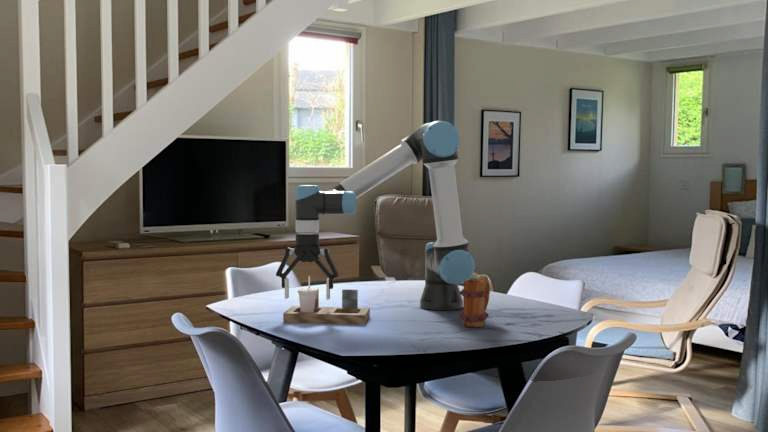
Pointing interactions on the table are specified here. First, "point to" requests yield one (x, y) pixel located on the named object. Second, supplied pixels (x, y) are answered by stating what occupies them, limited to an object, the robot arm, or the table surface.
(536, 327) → the table surface
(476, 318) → the mug
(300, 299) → the smoothie
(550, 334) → the table surface
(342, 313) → the socket board
